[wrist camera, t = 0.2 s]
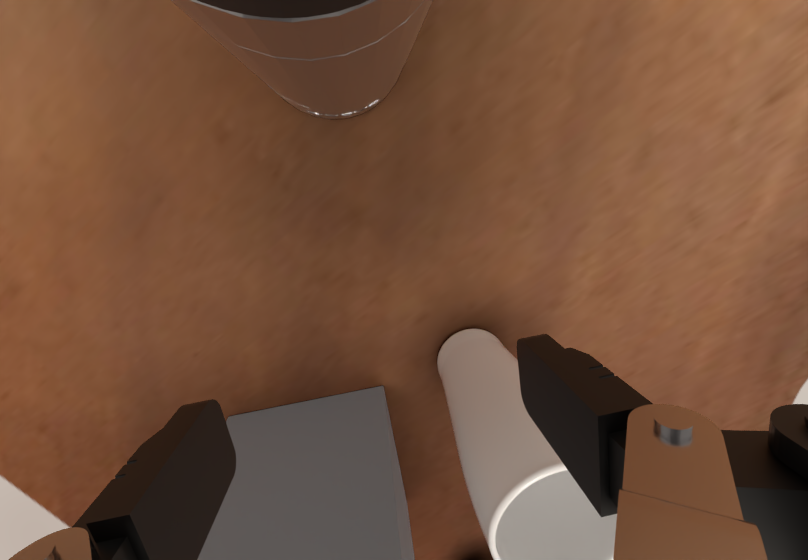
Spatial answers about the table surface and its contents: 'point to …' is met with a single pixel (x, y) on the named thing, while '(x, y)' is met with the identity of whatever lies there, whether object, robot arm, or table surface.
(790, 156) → the table surface
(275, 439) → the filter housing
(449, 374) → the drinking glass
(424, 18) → the robot arm
